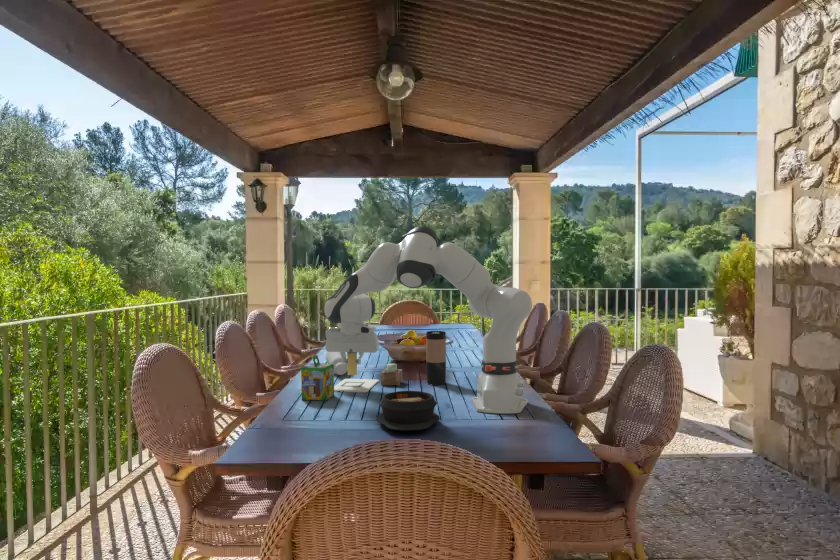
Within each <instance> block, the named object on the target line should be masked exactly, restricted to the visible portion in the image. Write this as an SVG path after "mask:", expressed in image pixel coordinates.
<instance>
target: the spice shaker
mask: <svg viewBox="0 0 840 560" xmlns="http://www.w3.org/2000/svg"><path fill="white" fill-rule="evenodd" d="M346 353H347V354H346V358H347V370H348V371H347V376H356V375H358V364H356V359H358V352H353V351H352V349H349V352H346Z"/></svg>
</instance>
